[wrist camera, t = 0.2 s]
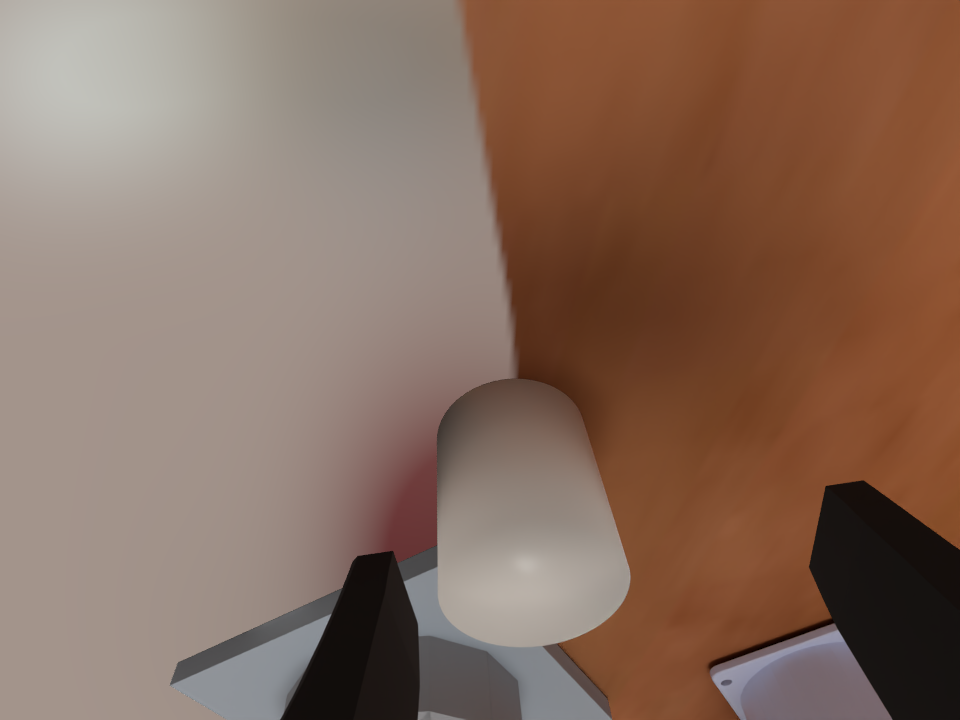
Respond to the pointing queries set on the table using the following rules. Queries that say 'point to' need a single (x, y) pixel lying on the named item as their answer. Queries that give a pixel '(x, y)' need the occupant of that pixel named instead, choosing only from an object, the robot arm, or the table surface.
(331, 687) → the robot arm
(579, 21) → the table surface
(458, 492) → the white rounded cylinder
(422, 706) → the square flange mount
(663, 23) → the table surface
